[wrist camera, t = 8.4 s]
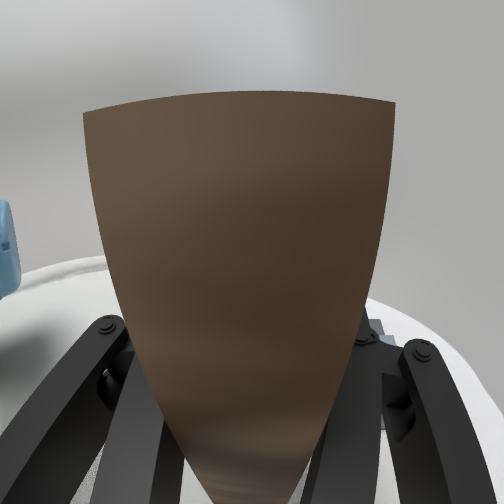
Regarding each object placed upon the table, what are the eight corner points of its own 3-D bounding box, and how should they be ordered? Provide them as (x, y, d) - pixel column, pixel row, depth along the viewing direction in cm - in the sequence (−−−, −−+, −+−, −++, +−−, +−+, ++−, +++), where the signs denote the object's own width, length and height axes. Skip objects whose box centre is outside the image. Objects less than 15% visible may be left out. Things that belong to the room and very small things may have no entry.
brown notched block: (218, 510, 10) (82, 113, 2) (248, 371, 19) (243, 106, 11) (279, 517, 9) (394, 102, 2) (292, 375, 18) (315, 108, 11)
